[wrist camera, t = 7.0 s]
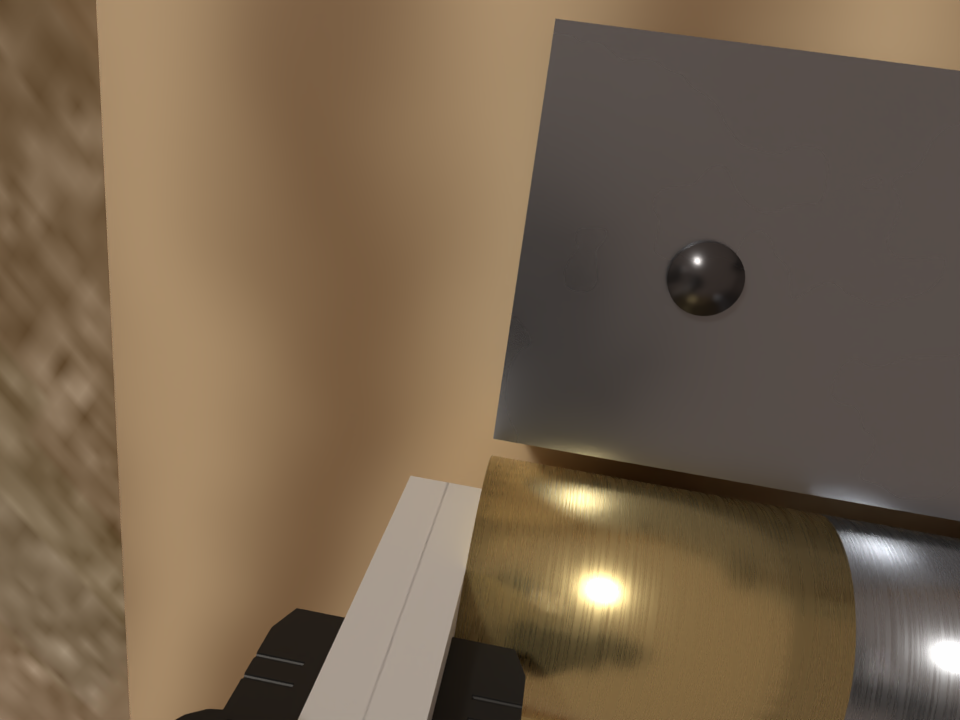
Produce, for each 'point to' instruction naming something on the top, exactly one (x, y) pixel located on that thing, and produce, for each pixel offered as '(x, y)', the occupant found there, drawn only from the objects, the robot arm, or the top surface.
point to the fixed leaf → (759, 302)
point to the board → (345, 283)
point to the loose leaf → (658, 599)
